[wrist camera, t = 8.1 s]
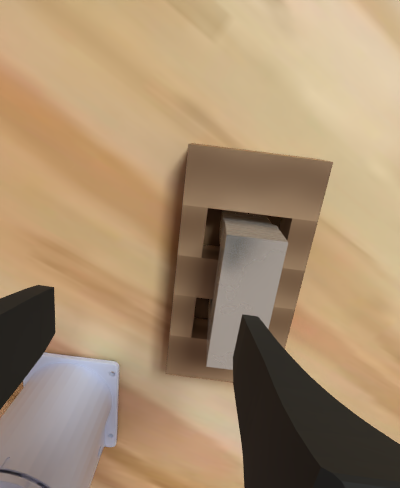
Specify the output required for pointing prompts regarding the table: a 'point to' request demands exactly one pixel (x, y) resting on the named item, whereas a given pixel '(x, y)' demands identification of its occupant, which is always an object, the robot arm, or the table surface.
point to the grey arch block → (242, 281)
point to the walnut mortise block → (206, 256)
